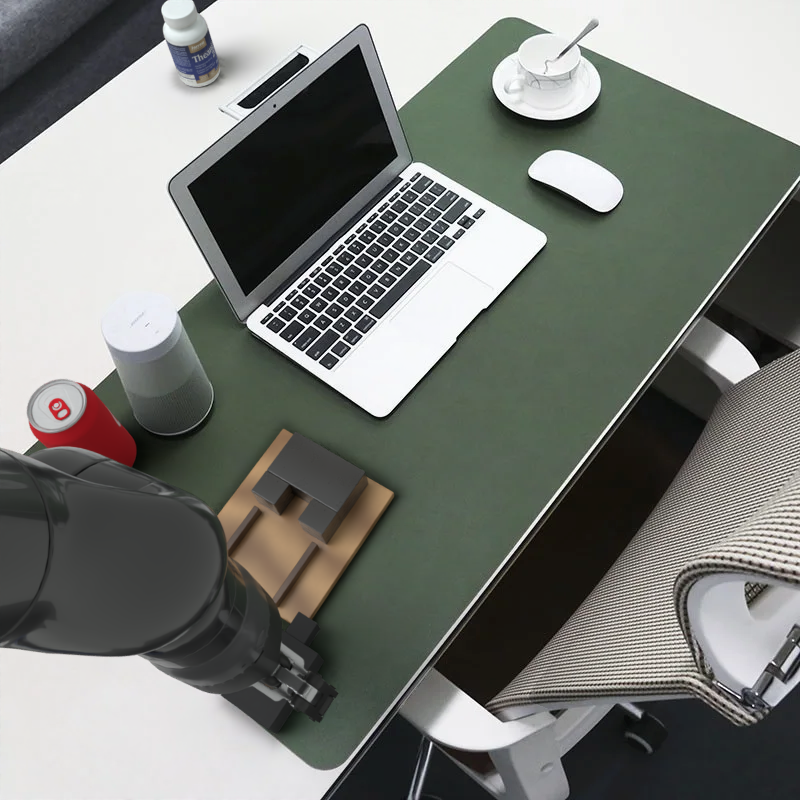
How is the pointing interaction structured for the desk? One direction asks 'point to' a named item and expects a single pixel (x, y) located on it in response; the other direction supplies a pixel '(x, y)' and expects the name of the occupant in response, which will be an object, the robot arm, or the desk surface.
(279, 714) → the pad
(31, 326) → the desk surface
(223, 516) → the dock
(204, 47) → the pill bottle
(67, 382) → the beverage can
